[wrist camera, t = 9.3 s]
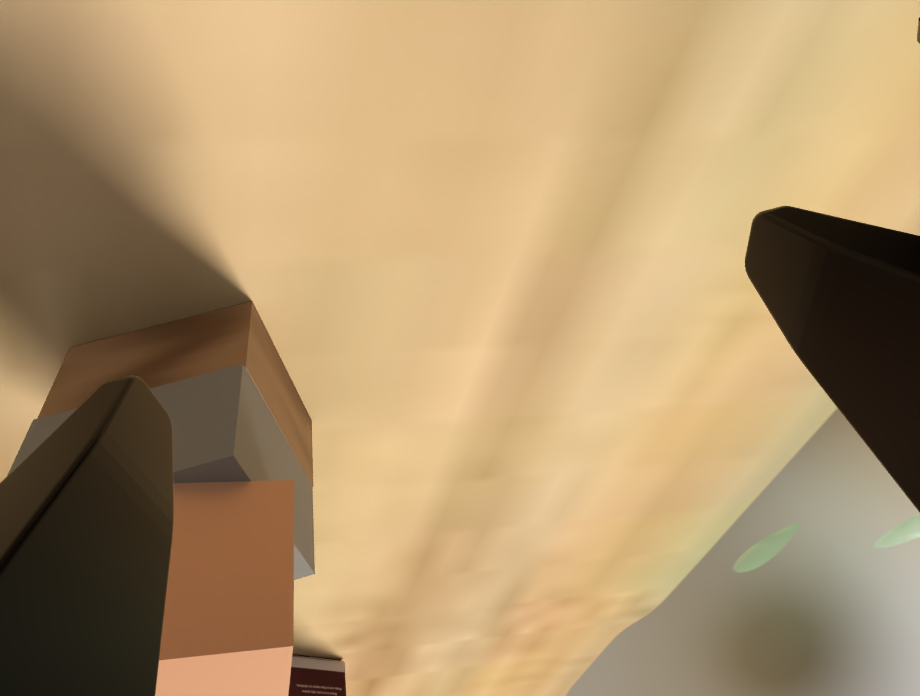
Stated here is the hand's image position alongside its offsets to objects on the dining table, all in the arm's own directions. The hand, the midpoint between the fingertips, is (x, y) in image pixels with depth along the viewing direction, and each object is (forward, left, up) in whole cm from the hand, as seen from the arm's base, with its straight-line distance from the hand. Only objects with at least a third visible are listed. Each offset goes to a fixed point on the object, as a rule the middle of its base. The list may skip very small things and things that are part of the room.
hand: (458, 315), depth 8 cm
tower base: (+10, +11, -13) cm, 20 cm away
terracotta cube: (+9, +10, -5) cm, 14 cm away
